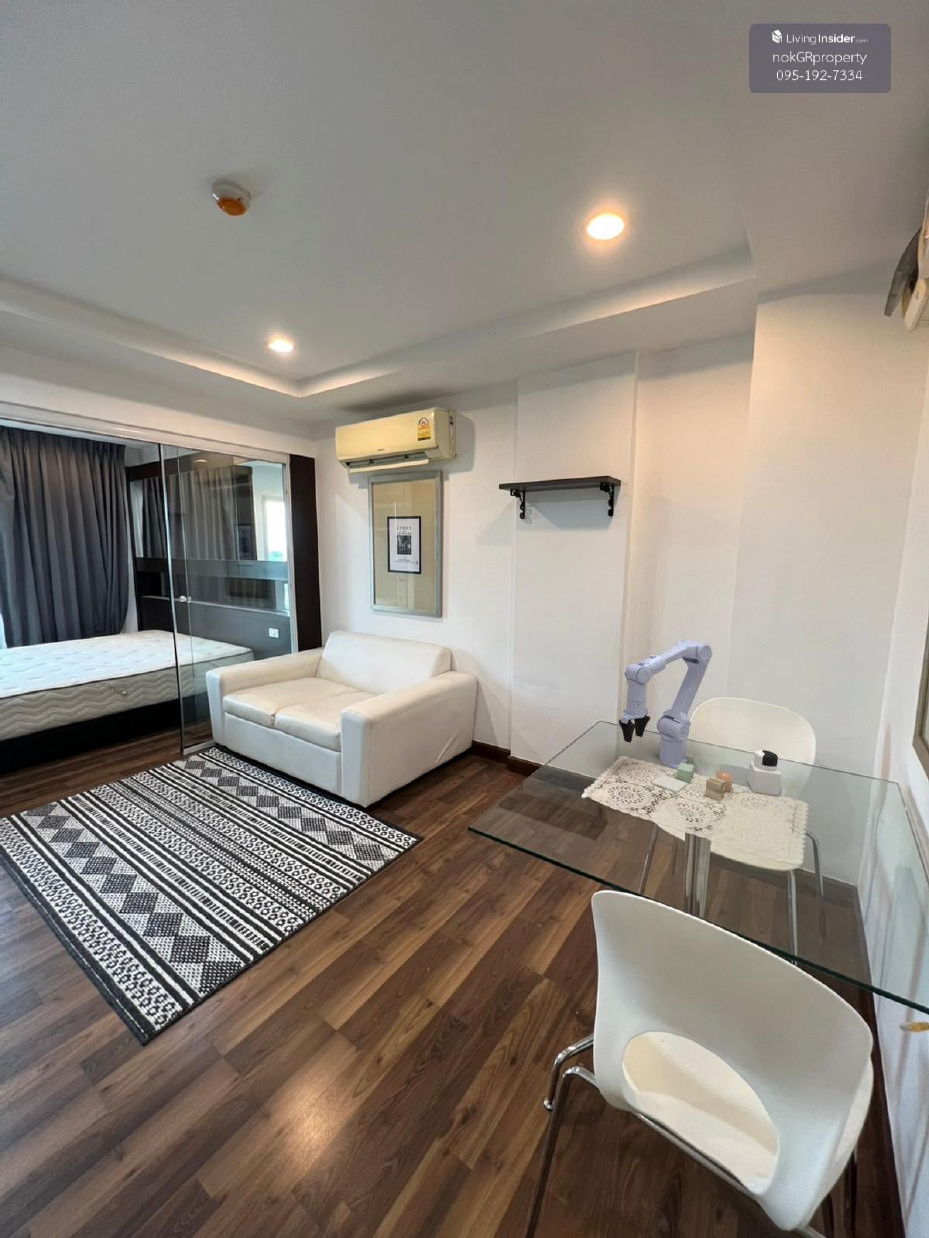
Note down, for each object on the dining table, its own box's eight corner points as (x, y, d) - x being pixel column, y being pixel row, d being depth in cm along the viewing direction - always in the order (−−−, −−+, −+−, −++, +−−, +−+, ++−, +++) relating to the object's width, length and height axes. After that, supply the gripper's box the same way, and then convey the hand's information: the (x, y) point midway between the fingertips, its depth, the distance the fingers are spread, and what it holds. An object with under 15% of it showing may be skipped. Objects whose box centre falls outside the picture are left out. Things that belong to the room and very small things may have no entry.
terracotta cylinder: (718, 784, 154) (719, 769, 153) (733, 789, 150) (734, 774, 150) (713, 788, 151) (714, 773, 150) (728, 793, 147) (729, 778, 147)
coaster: (663, 776, 159) (663, 774, 158) (687, 785, 153) (687, 783, 153) (651, 783, 153) (651, 782, 153) (676, 793, 147) (676, 791, 147)
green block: (676, 780, 156) (680, 773, 161) (689, 783, 154) (693, 776, 159) (677, 768, 156) (681, 762, 161) (690, 771, 153) (694, 765, 158)
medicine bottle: (773, 785, 153) (776, 749, 152) (779, 796, 146) (783, 758, 145) (747, 782, 155) (750, 746, 154) (752, 792, 149) (756, 755, 147)
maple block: (710, 791, 149) (711, 776, 148) (724, 796, 146) (725, 781, 145) (705, 796, 146) (706, 780, 145) (719, 801, 143) (720, 785, 142)
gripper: (635, 693, 169) (633, 730, 171) (613, 701, 159) (611, 740, 161) (654, 698, 164) (652, 736, 166) (633, 706, 154) (630, 746, 156)
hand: (633, 738), depth 163 cm, fingers open, 7 cm apart
